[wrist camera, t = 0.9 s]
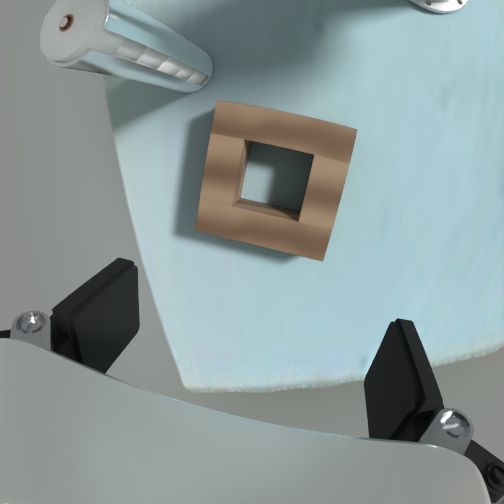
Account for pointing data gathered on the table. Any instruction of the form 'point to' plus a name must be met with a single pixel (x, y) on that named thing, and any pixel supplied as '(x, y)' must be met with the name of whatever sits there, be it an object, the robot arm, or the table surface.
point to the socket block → (264, 215)
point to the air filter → (122, 45)
